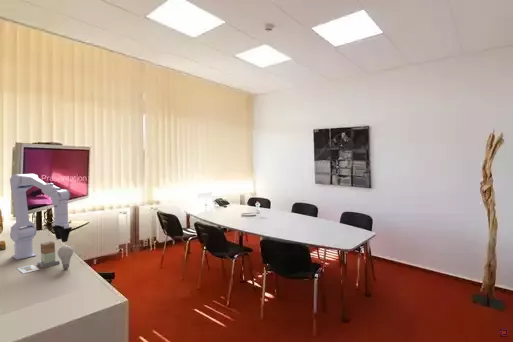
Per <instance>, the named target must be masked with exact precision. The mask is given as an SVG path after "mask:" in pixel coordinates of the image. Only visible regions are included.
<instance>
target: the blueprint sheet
mask: <svg viewBox="0 0 513 342" xmlns="http://www.w3.org/2000/svg"><path fill="white" fill-rule="evenodd" d="M16 270H18V271H19V272H20V273H21V274H23V275H24V274H27V273H31V272H35V271H39V270H40V269H39V268H38V267H37V266H35V265H34V264H30V265H25V266H21V267H18V268H16Z"/></svg>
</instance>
